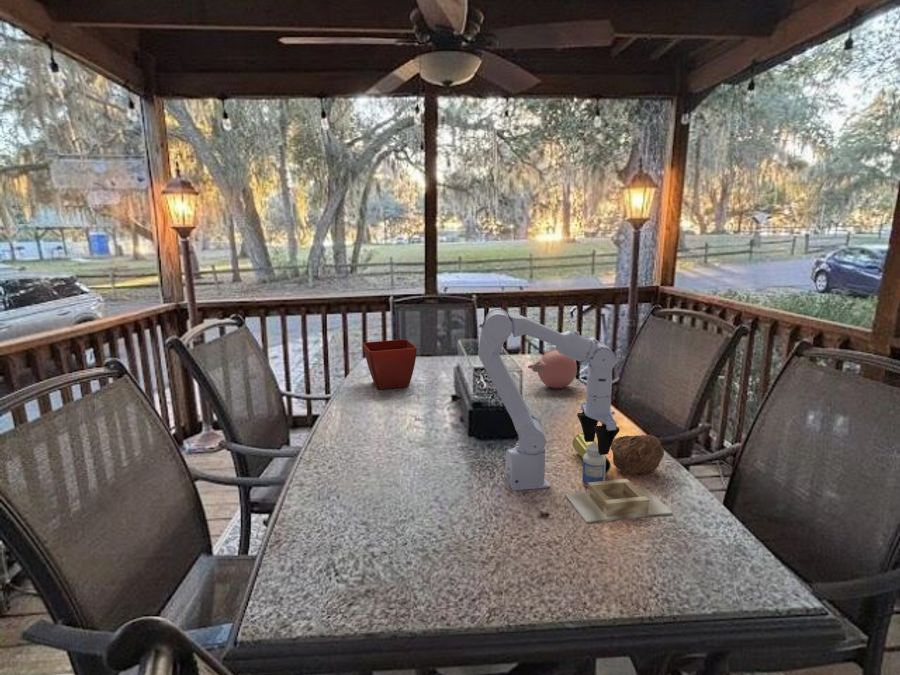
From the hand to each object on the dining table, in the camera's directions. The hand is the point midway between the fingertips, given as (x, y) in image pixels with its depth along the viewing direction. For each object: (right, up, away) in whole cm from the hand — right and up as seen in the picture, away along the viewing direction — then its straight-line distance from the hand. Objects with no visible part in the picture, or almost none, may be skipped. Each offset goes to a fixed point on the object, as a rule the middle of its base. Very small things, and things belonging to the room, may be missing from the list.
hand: (596, 447), depth 124 cm
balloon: (+5, +6, +80) cm, 80 cm away
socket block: (+2, -11, -8) cm, 14 cm away
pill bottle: (0, -10, +2) cm, 10 cm away
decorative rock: (+13, -8, +9) cm, 17 cm away
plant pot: (-60, +7, +87) cm, 106 cm away
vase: (+2, -3, +19) cm, 19 cm away
